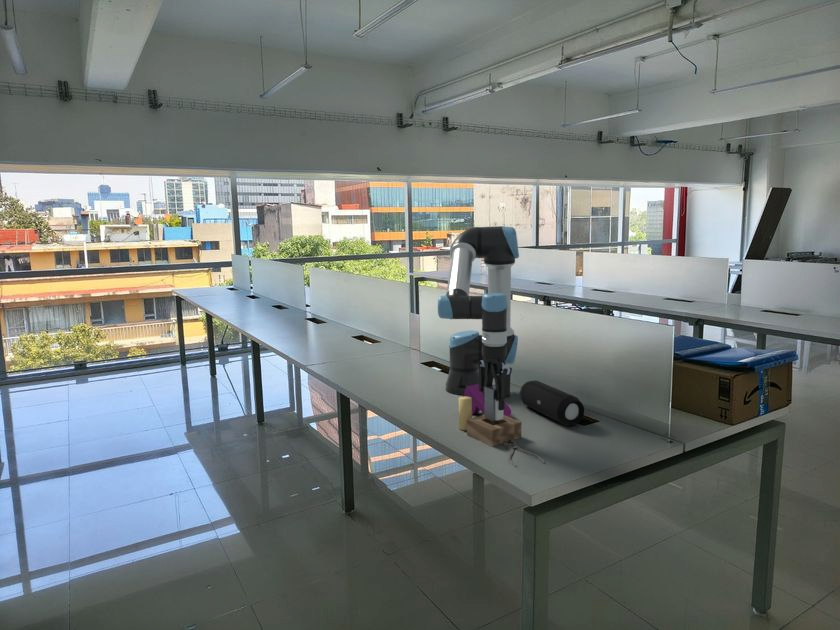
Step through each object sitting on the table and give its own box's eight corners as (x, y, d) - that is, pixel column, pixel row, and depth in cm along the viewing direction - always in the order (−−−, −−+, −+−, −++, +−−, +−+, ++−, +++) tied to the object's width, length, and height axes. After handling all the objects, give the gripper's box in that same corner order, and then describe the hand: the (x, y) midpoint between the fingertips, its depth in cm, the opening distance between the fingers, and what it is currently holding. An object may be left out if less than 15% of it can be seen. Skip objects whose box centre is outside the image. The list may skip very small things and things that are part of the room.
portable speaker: (517, 407, 206) (517, 380, 204) (540, 403, 210) (541, 377, 208) (561, 430, 183) (562, 400, 181) (586, 425, 187) (587, 395, 185)
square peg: (494, 415, 180) (494, 384, 179) (503, 418, 177) (503, 387, 175) (484, 417, 178) (484, 386, 176) (493, 421, 174) (493, 390, 173)
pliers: (518, 467, 154) (482, 442, 172) (518, 470, 154) (482, 444, 172) (548, 461, 158) (509, 437, 176) (548, 464, 158) (509, 439, 176)
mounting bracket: (509, 434, 196) (481, 399, 208) (516, 415, 191) (487, 382, 204) (487, 439, 191) (460, 404, 204) (494, 421, 187) (466, 386, 199)
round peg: (465, 425, 188) (465, 395, 187) (474, 428, 185) (474, 398, 184) (456, 428, 185) (455, 398, 184) (465, 431, 182) (464, 400, 181)
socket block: (495, 426, 186) (495, 411, 186) (521, 437, 177) (521, 422, 176) (466, 434, 180) (466, 419, 179) (492, 446, 170) (492, 430, 169)
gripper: (466, 341, 178) (467, 412, 182) (504, 350, 164) (503, 427, 168) (485, 338, 183) (485, 407, 186) (523, 347, 168) (522, 422, 172)
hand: (493, 417), depth 177 cm, fingers closed on square peg, 4 cm apart
